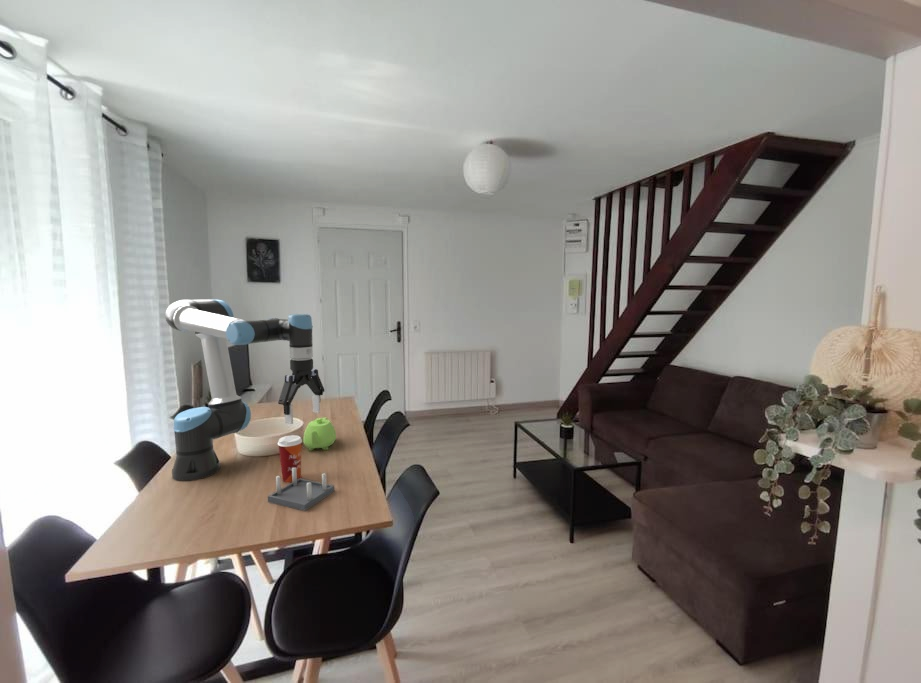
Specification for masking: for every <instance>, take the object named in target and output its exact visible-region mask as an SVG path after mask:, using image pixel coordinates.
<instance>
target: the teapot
mask: <svg viewBox="0 0 921 683" xmlns="http://www.w3.org/2000/svg"><path fill="white" fill-rule="evenodd" d="M336 439H337V433H336V429H335V427H334V425H333V423H332V422H331V420H329V419H328V417H327V416H326V417H317V418H315V420H311V421H310V422H308V424H307V426H306V428H305V430H304V433H303V439H302V443H303V445H304V446H305V447H306V448H308V449H307V451H314V450H315V449H322V451H327V450H329V447H330V446H331V445H333V444H334V442H335V441H336Z"/></svg>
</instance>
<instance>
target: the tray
mask: <svg viewBox="0 0 921 683" xmlns="http://www.w3.org/2000/svg"><path fill="white" fill-rule="evenodd" d="M281 476H282V475H276V476H275V486H276V487H275V488H276V489H275V490H276V491H274V492H272V493H270V494H269V495H267V503H270V504H275V505H279V506H282V507H287V508H291V509H295V510H300V511H303V512H306V511H307V510H309V509H310V508H311V507H313V506H314V505H316V504H318V503H319V502H321V501H322V500H324V499H325V498H327V497H328V496H329V495H331V494H333V493H334V492H336V491H335V487H336V486H335V485H334V484H329V483H328V482H327V473H322V474H321V482H320V481H316V480H310V479H306V478H302V477H300V478H299V479H297V471H296V467H294V468H292V480H293V482H289V483H288V484H286V485H285V486H283V487H282V480H281Z"/></svg>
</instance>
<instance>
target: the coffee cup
mask: <svg viewBox="0 0 921 683" xmlns="http://www.w3.org/2000/svg"><path fill="white" fill-rule="evenodd" d="M302 443H303V439H302V437H301V436H299V435H293V434H291V435H285V436H282V437H279V439H278V442H277V446H278V452H279V461H280V470H281V476H282V481H283V482H284V483H292V482H293V480H292V468H294V467H296V471H297V479H299V478H302V477H301V476H302V475H301V474H302Z"/></svg>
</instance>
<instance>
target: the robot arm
mask: <svg viewBox="0 0 921 683" xmlns="http://www.w3.org/2000/svg"><path fill="white" fill-rule="evenodd" d="M233 312H234V311H233V309H232V307H231V306H230V305H229V304H228V303H227V302H226V301H225V300H222V299H214V298H209V299H208V298H207V299H206V298H205V299H180V300H176V301H174V302H172V303H171V304H170V305H168V307H167V308H166V310H165V314H164V316H165V317H164V318H165V321H166V323H167V324H168V326H169V327H171V328H172V329H174V330H176V331H180V332H183V333H190V332H194V334H195V337H197V338H199V339H200V341H201V347H202V354H203V358H204V363H205V369H206V375H207V381H208V385H209V391H210V396H211V397H210V398H211V400H210V401H209V402H208V404H207V406H208V407H207V406H200V407H199V406H198V407H193V408H189V409H186V410H184V411H181V412H179V413H178V414H176V416H175V417H174V419H173V431H174V442H175V452H176V453H175V454H176V456H175V459H174V463H173V466H172V470H171V477H172V479H173V480H174V481H180V482H181V481H182V482H184V481H186V482H187V481H188V482H189V481H195V480H200V479H204V478H207V477H210V476H212V475H214V474H216V473H217V472H218V471H219V470H220V469H221V463H220V462H221V461H220V460H219V457H218V456H217V453H216V452H215V448H214V440H217V439H220V438H222V437H225V436H229V435H232V434H236V433H238V432H240V431H243V430H245V429H246V428H248V425H249V424H250V422H251V419H252V412H251V408H250V406H249V405H248V403H247V402H245V401H243V400H242V397H241V396H239V395H238V393H237V391H236V386H235V380H234V379H235V378H234V375H233V374H234V373H233V369H232V364H231V363H232V362H231V358H230V352H229V348H228V347H229V346H228V342H230V344H231V345H234V346H235V345H236V346H240V345H241V346H245V345H250V344H258V343H259V344H260V343H267V342H274V341H287V342H289V345H288V346H289V359H290V360H289V365H290V366H289V367H290V368H289V369H290V371H291V372H292V374H291V375H289V374H285V375H284V383H283V386H282V389H281V392H280V395H279V399H278V401H277V404H278V405H282V406H283V414H284V419H285V420H284V423H285V424H289V425H293V424H294V411H293V410H294V408H293V404H292V402H293V400H294V398H295V396H296V395H297V392H298V390H299V389H300V388H301V387H303V386H304V385H307V387H308V388H309V389H310V390H311V392H312V393H313V394H312V396H311V397H312V413H314V414H320V413H321V396H323V394H324V392H325V388H324V386H323V383H322V381H321V377H320V376H319V370H318V369H315V368H314V359H313V356H314V353H313V321H312V320H313V319H312V316H311V314H308V313H296V314H295V313H294V314H293V313H292V314H290V315H288V319H286V318H285V319H284V318H276V317H275V318H267V319H259V320H246V319H241V318H238V317H234V313H233ZM227 341H228V342H227Z"/></svg>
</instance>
